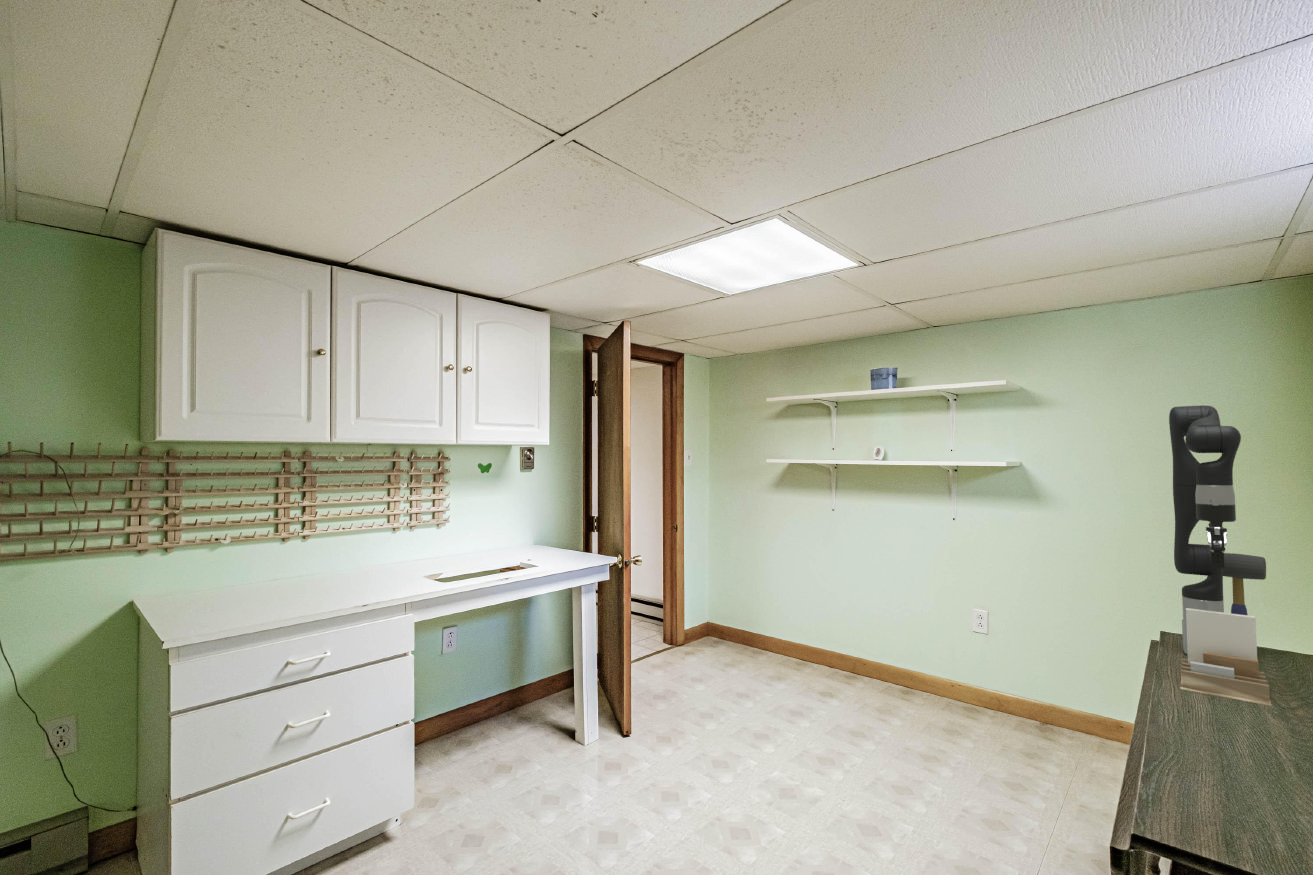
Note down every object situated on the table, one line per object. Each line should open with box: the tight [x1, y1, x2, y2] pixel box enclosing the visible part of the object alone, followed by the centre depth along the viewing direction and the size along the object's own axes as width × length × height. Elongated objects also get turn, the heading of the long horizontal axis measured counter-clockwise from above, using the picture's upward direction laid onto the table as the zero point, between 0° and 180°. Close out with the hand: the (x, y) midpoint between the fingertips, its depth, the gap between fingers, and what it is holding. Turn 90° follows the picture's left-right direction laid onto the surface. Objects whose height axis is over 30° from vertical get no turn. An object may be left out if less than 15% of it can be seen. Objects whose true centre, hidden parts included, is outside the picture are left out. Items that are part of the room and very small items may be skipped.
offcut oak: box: [1203, 652, 1260, 679], centre depth 149 cm, size 2×10×8 cm, turn 48°
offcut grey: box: [1190, 661, 1235, 679], centre depth 148 cm, size 2×8×6 cm, turn 48°
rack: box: [1180, 658, 1272, 707], centre depth 150 cm, size 16×16×5 cm
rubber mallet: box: [1223, 552, 1267, 616], centre depth 182 cm, size 12×8×30 cm, turn 40°
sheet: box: [1186, 608, 1258, 664], centre depth 153 cm, size 2×13×18 cm, turn 48°
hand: (1217, 564), depth 154 cm, fingers open, 8 cm apart
